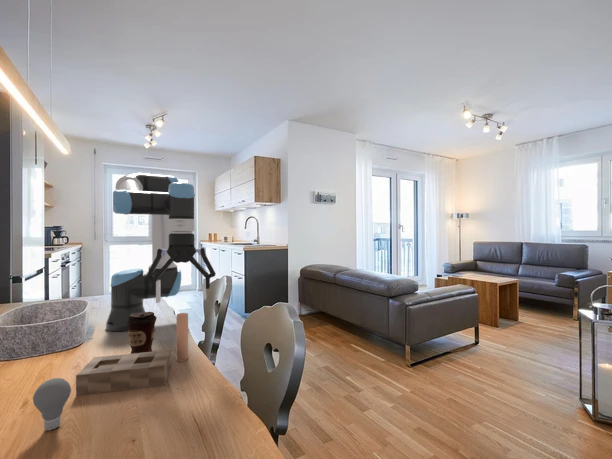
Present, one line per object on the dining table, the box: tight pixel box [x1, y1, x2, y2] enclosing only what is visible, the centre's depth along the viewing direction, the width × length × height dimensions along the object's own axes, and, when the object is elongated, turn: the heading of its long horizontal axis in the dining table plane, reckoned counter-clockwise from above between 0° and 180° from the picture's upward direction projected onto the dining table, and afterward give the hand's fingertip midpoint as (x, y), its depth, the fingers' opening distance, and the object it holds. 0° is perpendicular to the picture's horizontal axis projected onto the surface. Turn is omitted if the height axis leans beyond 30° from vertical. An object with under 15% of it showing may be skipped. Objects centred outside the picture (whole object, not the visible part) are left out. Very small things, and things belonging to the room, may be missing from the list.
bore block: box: [75, 349, 172, 397], centre depth 84 cm, size 11×20×5 cm, turn 105°
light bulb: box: [32, 377, 72, 431], centre depth 63 cm, size 6×6×10 cm
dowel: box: [176, 312, 189, 362], centre depth 97 cm, size 3×3×14 cm
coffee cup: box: [127, 311, 157, 354], centre depth 101 cm, size 9×8×13 cm
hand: (181, 300), depth 97 cm, fingers open, 13 cm apart
